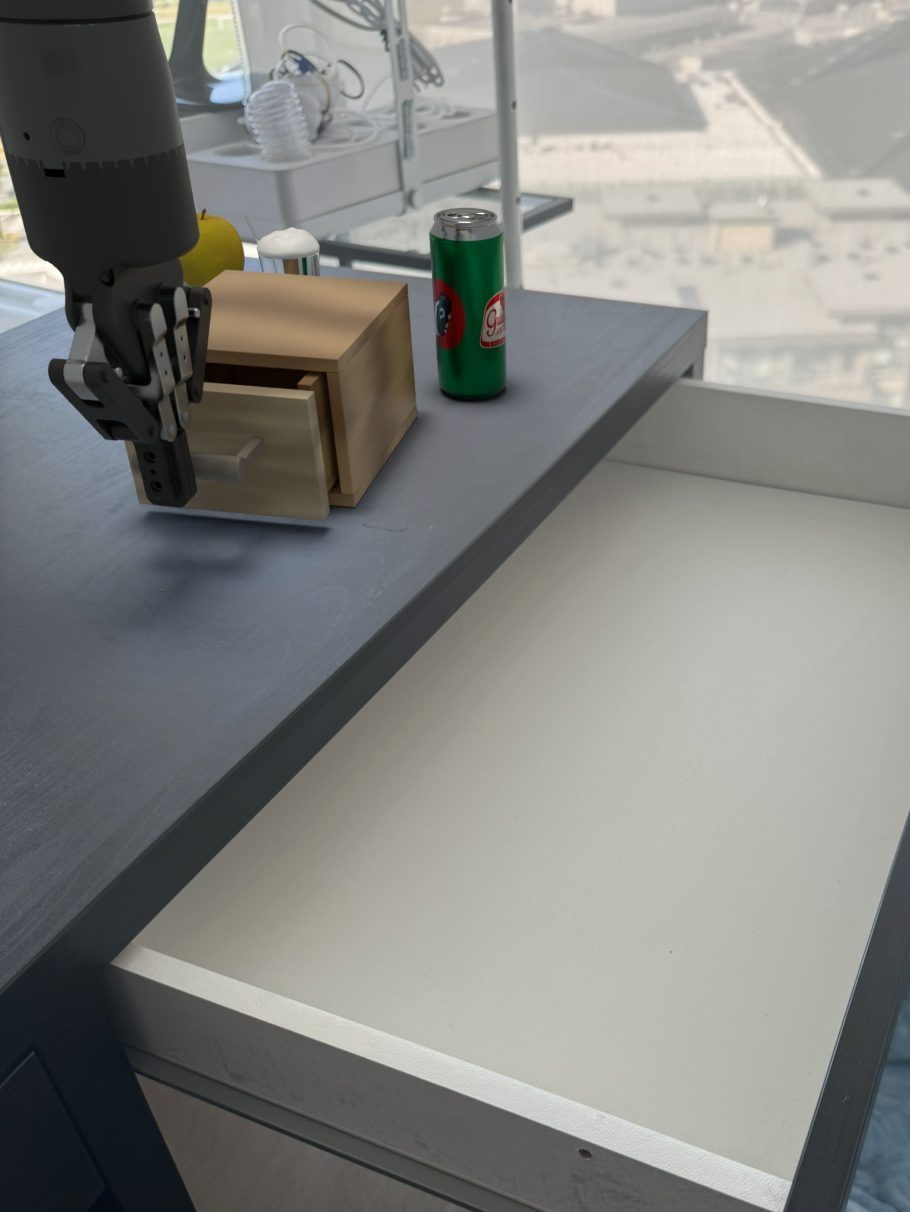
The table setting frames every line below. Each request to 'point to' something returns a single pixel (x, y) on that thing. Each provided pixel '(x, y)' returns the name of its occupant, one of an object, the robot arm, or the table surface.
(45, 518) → the table surface
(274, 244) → the milkshake
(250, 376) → the drawer
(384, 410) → the cabinet
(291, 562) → the table surface
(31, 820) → the table surface
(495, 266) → the soda can
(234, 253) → the apple
